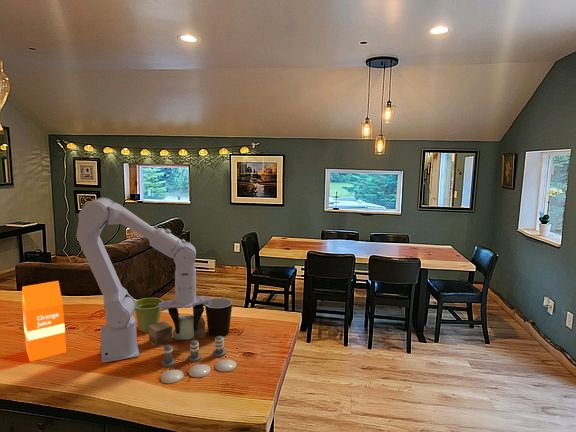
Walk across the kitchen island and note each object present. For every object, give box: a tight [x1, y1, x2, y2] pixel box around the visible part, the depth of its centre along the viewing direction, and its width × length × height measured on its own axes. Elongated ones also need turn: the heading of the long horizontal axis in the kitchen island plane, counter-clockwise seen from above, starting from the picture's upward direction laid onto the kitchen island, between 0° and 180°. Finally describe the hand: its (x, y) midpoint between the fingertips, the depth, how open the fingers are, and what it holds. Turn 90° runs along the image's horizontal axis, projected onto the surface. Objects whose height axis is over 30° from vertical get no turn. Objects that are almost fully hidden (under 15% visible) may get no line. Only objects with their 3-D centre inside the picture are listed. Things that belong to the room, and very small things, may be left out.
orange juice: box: [21, 280, 67, 363], centre depth 110 cm, size 8×9×20 cm
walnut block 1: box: [148, 320, 173, 348], centre depth 118 cm, size 5×5×5 cm
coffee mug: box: [204, 297, 233, 338], centre depth 126 cm, size 12×9×10 cm
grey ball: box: [172, 329, 184, 341], centre depth 120 cm, size 4×4×4 cm
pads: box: [159, 358, 237, 384], centre depth 103 cm, size 20×6×1 cm, turn 114°
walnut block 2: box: [188, 315, 206, 341], centre depth 123 cm, size 5×5×5 cm
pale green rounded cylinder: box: [178, 314, 194, 341], centre depth 113 cm, size 4×4×6 cm
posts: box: [161, 336, 227, 368], centre depth 109 cm, size 18×4×5 cm, turn 114°
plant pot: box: [134, 297, 164, 333], centre depth 126 cm, size 9×9×9 cm
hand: (186, 331), depth 114 cm, fingers closed on pale green rounded cylinder, 4 cm apart
